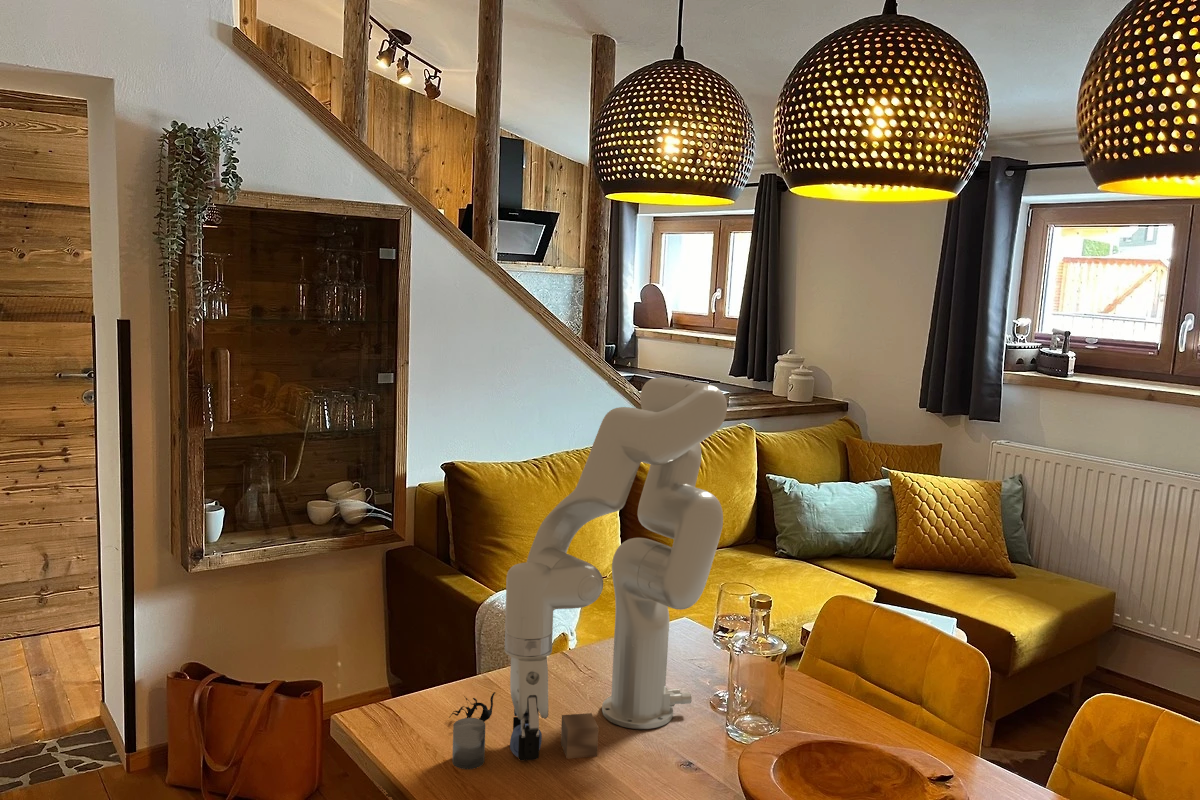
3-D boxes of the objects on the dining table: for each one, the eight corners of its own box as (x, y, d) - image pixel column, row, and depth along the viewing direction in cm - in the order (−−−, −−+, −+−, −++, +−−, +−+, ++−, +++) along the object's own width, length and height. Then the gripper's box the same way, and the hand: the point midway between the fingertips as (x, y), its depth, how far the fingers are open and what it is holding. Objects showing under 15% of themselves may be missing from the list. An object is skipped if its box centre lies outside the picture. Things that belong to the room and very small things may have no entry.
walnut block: (590, 741, 156) (591, 713, 155) (597, 756, 151) (598, 727, 151) (560, 743, 155) (561, 715, 154) (566, 759, 150) (567, 729, 149)
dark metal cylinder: (482, 752, 151) (483, 716, 150) (486, 768, 146) (487, 731, 145) (451, 754, 150) (452, 718, 149) (453, 770, 145) (454, 733, 144)
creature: (443, 737, 158) (488, 733, 156) (437, 706, 157) (482, 702, 156) (458, 716, 165) (501, 712, 164) (453, 687, 165) (496, 683, 163)
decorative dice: (518, 744, 154) (519, 721, 153) (541, 749, 152) (542, 725, 152) (509, 756, 150) (510, 732, 149) (532, 760, 149) (533, 737, 148)
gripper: (562, 662, 141) (558, 775, 144) (542, 620, 158) (539, 722, 160) (512, 665, 140) (509, 779, 142) (498, 623, 156) (495, 726, 158)
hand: (525, 748), depth 151 cm, fingers closed on decorative dice, 5 cm apart
